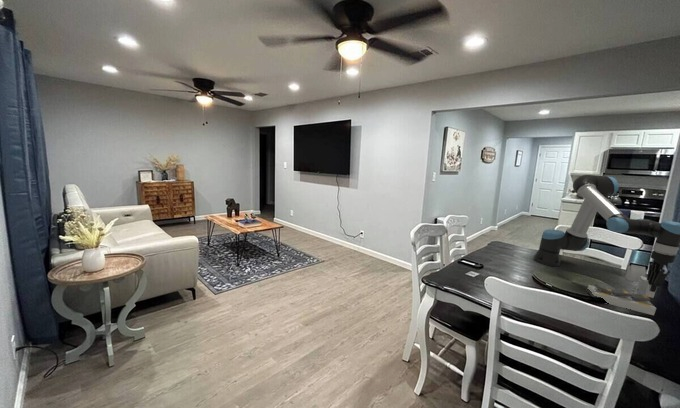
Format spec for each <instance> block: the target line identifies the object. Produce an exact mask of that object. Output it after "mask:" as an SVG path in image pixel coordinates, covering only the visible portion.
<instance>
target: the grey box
mask: <svg viewBox="0 0 680 408" xmlns="http://www.w3.org/2000/svg"><path fill="white" fill-rule="evenodd" d="M640 276H643V277H646V266H641V265H636V264H630V266H629V267H628V268H627V271H626V274H625V276H624V279H626V280H627V281H631V282H635V283H638V281H639V279H640Z"/></svg>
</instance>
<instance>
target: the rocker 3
mask: <svg viewBox="0 0 680 408" xmlns="http://www.w3.org/2000/svg"><path fill="white" fill-rule="evenodd" d="M629 294H630V297H631V298H632V299H633V300H640V301H648V302H650V303H651V297H647V296H645V295H637V294H634V293H629Z"/></svg>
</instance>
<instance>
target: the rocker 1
mask: <svg viewBox="0 0 680 408" xmlns="http://www.w3.org/2000/svg"><path fill="white" fill-rule="evenodd" d="M594 286H595V287H596V288H597V289H599V290H601V291H604V292H606V293H608V294H610V295H611V293H612V292H611V289H610V288H608V287H605V286H602V285H601V284H598V283H595V284H594Z"/></svg>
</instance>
